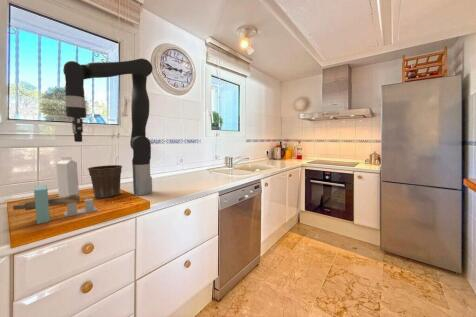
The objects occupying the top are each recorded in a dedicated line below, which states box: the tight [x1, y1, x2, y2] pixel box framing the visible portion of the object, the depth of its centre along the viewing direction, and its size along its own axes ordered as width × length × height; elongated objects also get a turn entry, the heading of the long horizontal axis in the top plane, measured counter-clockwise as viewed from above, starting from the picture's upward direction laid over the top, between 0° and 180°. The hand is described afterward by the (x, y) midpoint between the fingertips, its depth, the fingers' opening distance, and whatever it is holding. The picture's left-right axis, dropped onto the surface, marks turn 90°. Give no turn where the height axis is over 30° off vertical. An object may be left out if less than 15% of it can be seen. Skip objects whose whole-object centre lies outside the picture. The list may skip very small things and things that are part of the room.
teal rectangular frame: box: [33, 184, 51, 225], centre depth 80 cm, size 4×9×13 cm, turn 42°
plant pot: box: [87, 164, 123, 199], centre depth 115 cm, size 16×16×16 cm
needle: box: [12, 193, 81, 211], centre depth 81 cm, size 19×3×3 cm, turn 133°
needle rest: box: [63, 198, 98, 218], centre depth 88 cm, size 11×4×5 cm, turn 133°
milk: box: [55, 156, 80, 197], centre depth 110 cm, size 6×6×22 cm
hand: (78, 141), depth 98 cm, fingers open, 8 cm apart
